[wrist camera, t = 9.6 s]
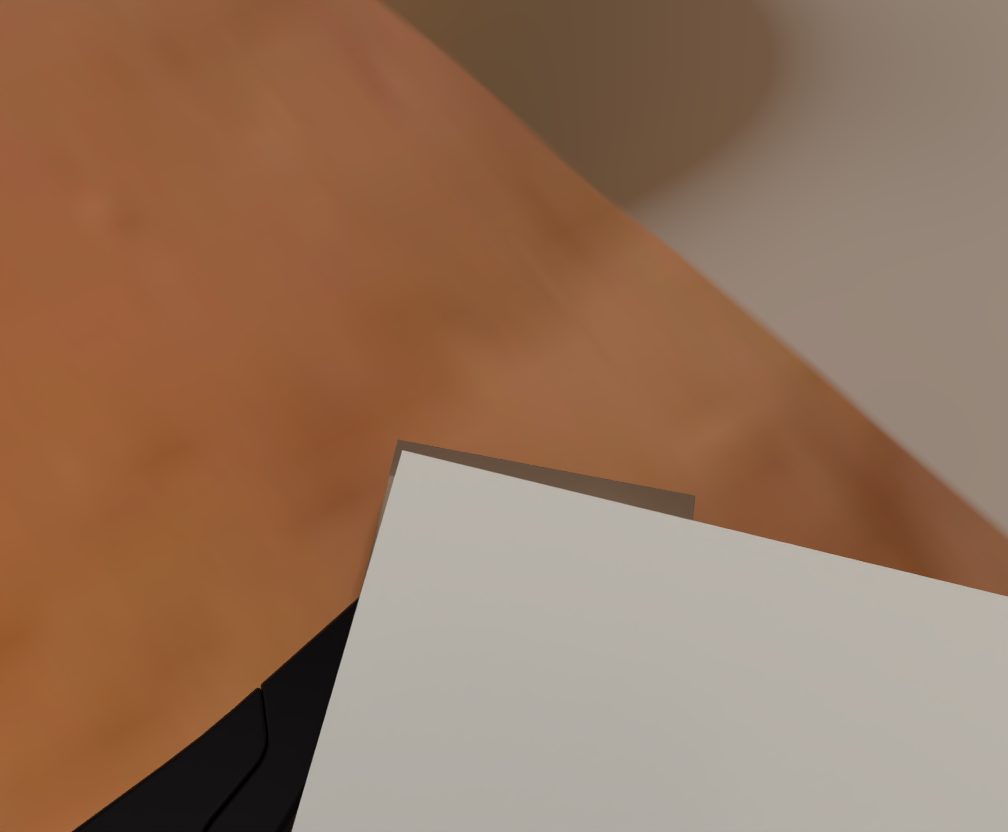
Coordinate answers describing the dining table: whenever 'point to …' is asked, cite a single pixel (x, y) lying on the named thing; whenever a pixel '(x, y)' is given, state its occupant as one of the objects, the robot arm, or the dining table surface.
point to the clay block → (649, 677)
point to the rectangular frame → (552, 482)
